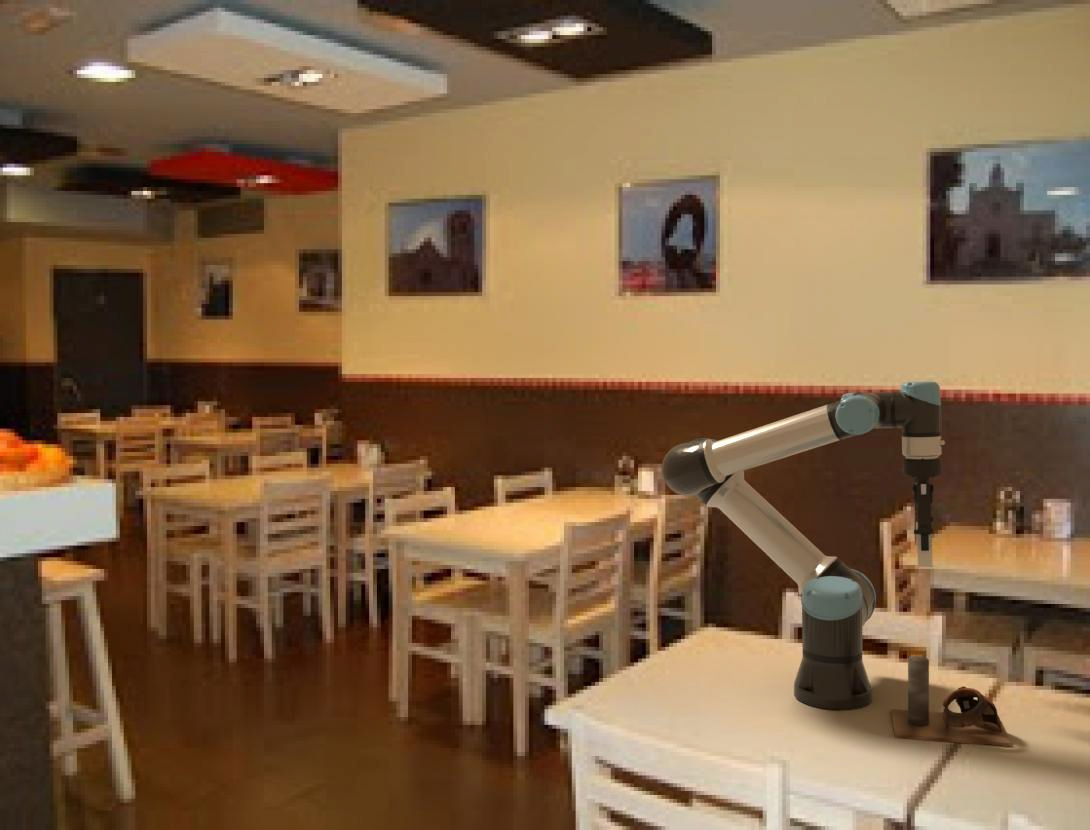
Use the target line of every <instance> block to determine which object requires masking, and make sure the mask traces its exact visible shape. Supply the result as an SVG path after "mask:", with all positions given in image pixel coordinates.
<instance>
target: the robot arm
mask: <svg viewBox="0 0 1090 830" xmlns="http://www.w3.org/2000/svg"><path fill="white" fill-rule="evenodd" d="M941 398H942V397H941V387H940V385H939V383H937V382H936V381H934V380H933V381H931V380H929V381H905V382H902V383H901V385H900V390H899V391H892V392H887V391H886V392H885V391H884V392H881V391H879V392H861V391H860V392H859V391H857V392H850V393H847V392H846V393H844V394H842V396H841V398H840V399H839V400H838V401H834V402H832V403H829V404H825V405H823V406H819V407H816V408H813V409H811V410H808V411H804V412H801V413H798V414H795V415H791V416H789V417H786V418H783V419H780V420H777V421H774V422H771V423H768V424H765V425H762V426H759V427H757V428H753V429H750V430H747V431H743V432H741V433H737V434H734V435H732V436H729V437H726V438H723V439H720V440H716V439H711V438H705V437H704V438H702V437H701V438H695V439H693V440H691V441H689V442H684V443H680V444H677V445H675V446H674V447H672V448H671V449H670V450H669V451H668V452H667V453H666V454H665V456H664V458H663V461H662V465H661V475H662V478H663V480H664V483H665V484H666V485H667V487H668V488H669V489H670V490H671V491H673V492H674V493H676V494H679V495H682V496H685V497H686V496H688V497H689V496H691V497H692V496H695V497H696V498H698V499H699V501H701V502H702V503H703V504H704V505H705V507H707V508H717V509H719V510H720V511H721V512H722V513H723V514H724V515H725V516H726V517H727V518H728V519H729V520H730V521H731V522H732V523H733V524H734V525H736V526H737V527H738V528H739V529H740V531H742V532H743V533H744V534H745V536H747V537H748V538H749V539H750V540H751V541H752V542H753V543H754V544H755V545H756V546H757V547H758V548H759V549H761V550H762V551H763V552H764V553H765V554H766V556H768V557H769V558H770V559H771V560H772V561H773V562H774V563H775V564H776V565H777V566H778V567H779V568H780V569H782V570H783V572H784V573H785V574H787V575H788V576H789V577H790V578H791V579H792V580H793V581H794V582H795V583H796V584H797V587H798V595H799V596H800V597H801V598H800V602H801V626H802V627H801V629H802V630H801V632H802V639H801V641H802V644H801V645H802V657H801V661H800V664H799V667H798V670H797V673H796V677H795V680H794V683H793V696H794V697H795V698H796V699H797V700H798V701H799V702H802V703H804V704H805V705H808V706H812V707H816V708H821V709H827V710H828V709H829V710H840V711H841V710H842V711H843V710H854V709H859V708H860V709H861V708H863V707H866V706H868V705H870V704H871V703H872V701H873V700H872V699H873V697H872V696H873V695H872V694H873V691H872V690H873V688H872V686H871V683H870V679H869V677H868V674H867V671H866V667H865V665H864V664H865V663H864V662H863V629H864V628H863V627H864V626H865V624H866V622H867V621H869V620H870V618H871V617H872V615H874V611H875V609H876V602H877V596H876V591H875V588H874V585H873V583H872V582H871V580H870V579H869V578H868V577H867V576H866V575H865V574H864V573H862V572H860V571H858V570H856V569H853V568H850V567H848V566H847V565H846V564H845V563H844V562H843V561H842V560H841V559H839V558H838V557H837V556H828V555H825V554H824V553H823V552H822V551H821V550H820V549H819V548H818V547H817V546H815V544H813V543H812V542H811V541H810V540H809V539H808V538H807V537H806V536H805V535H804V534H803V533H801V532H800V530H798V529H797V528H796V526H794V524H792V523H791V522H790V521H789V520H788V519H787V518H786V517H785V516H783V515H782V514H781V513H780V512H779V510H777V509H776V508H775V507H774V506H773V505H772V504H771V503H769V502H768V501H767V499H765V498H764V497H763V496H762V495H761V494H760V493H759V492H758V491H756V489H755V488H754V487H752V486H751V485H750V484H749V483H748V482H747V481H746V480H745V471H747V470H749V469H753V468H756V467H760V466H762V465H765V464H769V463H772V462H774V461H778V460H782V459H785V458H787V457H790V456H793V455H797V454H800V453H803V452H806V451H810V450H812V449H816V448H819V447H822V446H825V445H828V444H832V443H835V442H839V441H841V440H845V439H848V438H851V437H854V436H860V435H861V436H862V435H864V434H866V433H869V432H871V431H872V430H874V429H901V430H902V431H901V449H902V451H901V453H902V456H904V457H903V459H902V474H903V476H905V477H907V478H908V477H909V478H914V481H915V483H914V484H912V485H911V486H912V495H913V501H914V506H916V512H915V517H916V518H915V521H916V523H915V528H916V529H913V535H916V536H915V537H916V554H917V568H918V567H922V568H933V528H932V523H933V522H934V521H933V519H934V518H933V516H932V511H931V510H932V509H931V508H932V506H933V504H934V503H933V501H934V500H933V495H934V485H933V484H931V483H930V478H938V477H941V476H942V475H943V458H941V457H940V456H941V455H942V446H943V445H945V444H946V442H945V440H943V439H942V401H941Z"/></svg>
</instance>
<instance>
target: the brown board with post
mask: <svg viewBox="0 0 1090 830" xmlns="http://www.w3.org/2000/svg"><path fill="white" fill-rule="evenodd" d="M889 711H890V717H891V721H892V726H893V727H892V728H893V732H894V736H895V737H894V738H898V739H910V740H919V741H921V740H922V741H934V742H935V741H936V742H937V741H938V742H947V743H956V744H957V743H960V744H973V745H983V744H988V745H987V746H995V745H1004V746H1003V747H1008V746H1012V743H1011V741H1010V738H1009V736H1008V735H1007V733H1006V731H1005V729H1004V727H1003V724H1001V726H1002V732H1000V731H999V728H998V726H997V725H996V724H994V723H990V722H983V723H984V725H980V724H974V725H971V726H964V727H962V728H961V727H953V726H949V728H948V729H947V728H946V727H945V724H944V721H943V714H944V712H940V711H938V712H937V711H936V712H935V711H930V659H928V658H927V657H924V656H909V657H907V709H898V708H897V709H896V708H894V709H893V708H890V710H889ZM989 744H991V745H989Z"/></svg>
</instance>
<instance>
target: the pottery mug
mask: <svg viewBox="0 0 1090 830" xmlns="http://www.w3.org/2000/svg"><path fill="white" fill-rule="evenodd" d="M975 698H977V699H975ZM954 701H955V702H956V703H957V706H958V708H959V709H960V712H955V711H953V710H950V709H949V706H950V704H951V703H952V702H954ZM942 706H943V707H944V708H943V713H944V714H943V721H944V724H945V727H946V728H947V729H948V728H949V726H953V727H961V728H962V727H964V726H971V725H974V724H980V725H984V723H983V722H990V723H994V724H996V725H997V726H998V728H999V731H1000V732H1002V727H1003V725H1002V721H1001V718H1000V716H999V714H998V710H997V707H996V705H995V704H994V702H993V701H992V700H991V699H990V698H988V697H987V696H985V695H984V694H982V693H981V692H980V691H979V690H977V689H975V688H972V687H966V686H963V685H962V686H961V687H958V688H957V689H956V690H954V691H951V692H949V694H947V695H946V696H945V698H944V699H943V702H942ZM1001 725H1002V726H1001Z"/></svg>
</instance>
